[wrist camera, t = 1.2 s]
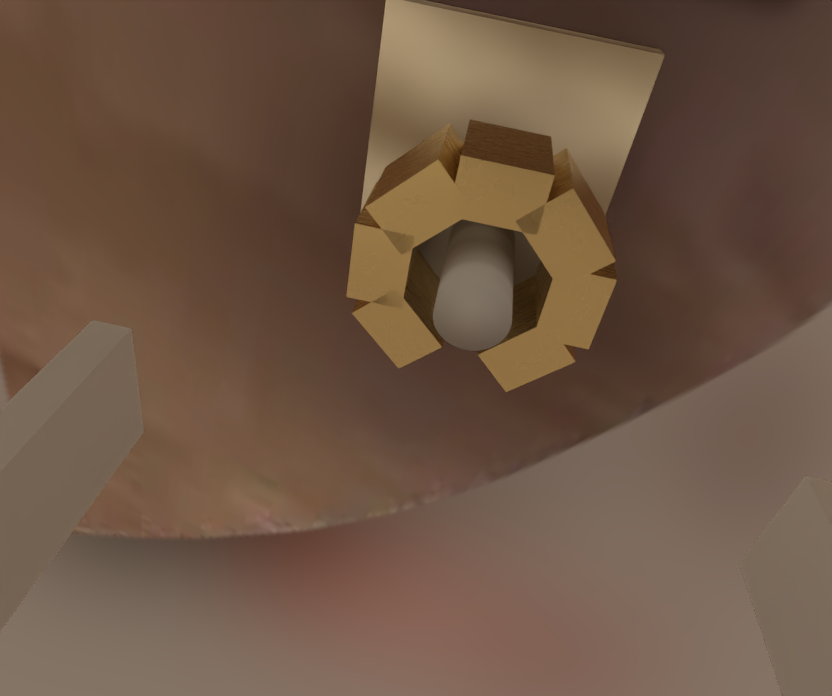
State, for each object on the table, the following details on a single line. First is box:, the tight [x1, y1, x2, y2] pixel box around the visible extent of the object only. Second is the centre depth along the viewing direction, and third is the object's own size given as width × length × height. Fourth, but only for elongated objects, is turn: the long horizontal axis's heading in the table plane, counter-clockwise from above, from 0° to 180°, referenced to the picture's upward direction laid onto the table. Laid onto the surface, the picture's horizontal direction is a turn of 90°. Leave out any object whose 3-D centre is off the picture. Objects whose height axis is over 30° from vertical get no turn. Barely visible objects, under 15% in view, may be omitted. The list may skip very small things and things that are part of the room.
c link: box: [346, 119, 617, 392], centre depth 18 cm, size 7×7×3 cm
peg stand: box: [360, 0, 665, 351], centre depth 21 cm, size 10×10×12 cm
